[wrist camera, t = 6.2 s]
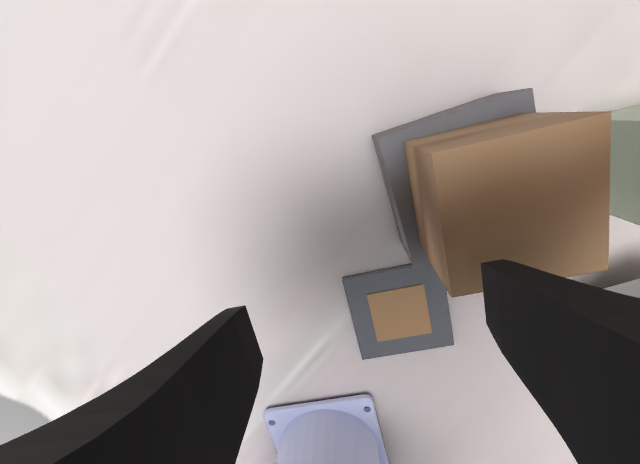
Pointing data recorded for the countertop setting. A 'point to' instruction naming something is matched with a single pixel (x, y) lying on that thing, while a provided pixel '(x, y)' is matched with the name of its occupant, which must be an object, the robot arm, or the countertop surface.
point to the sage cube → (625, 164)
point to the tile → (399, 310)
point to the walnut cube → (513, 195)
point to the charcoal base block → (454, 118)
